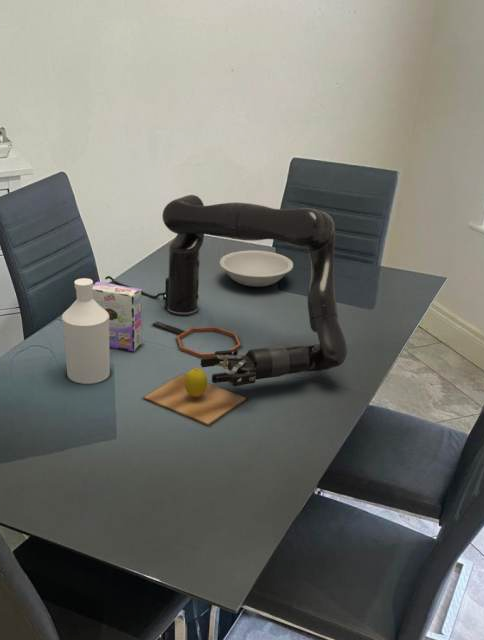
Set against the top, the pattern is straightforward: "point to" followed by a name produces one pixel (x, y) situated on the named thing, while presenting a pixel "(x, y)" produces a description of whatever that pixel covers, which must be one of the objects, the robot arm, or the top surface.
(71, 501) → the top surface
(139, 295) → the candy box
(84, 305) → the bottle
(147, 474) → the top surface
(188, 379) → the lemon
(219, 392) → the wooden cutting board
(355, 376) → the top surface
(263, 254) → the soup bowl
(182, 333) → the magnifying glass
